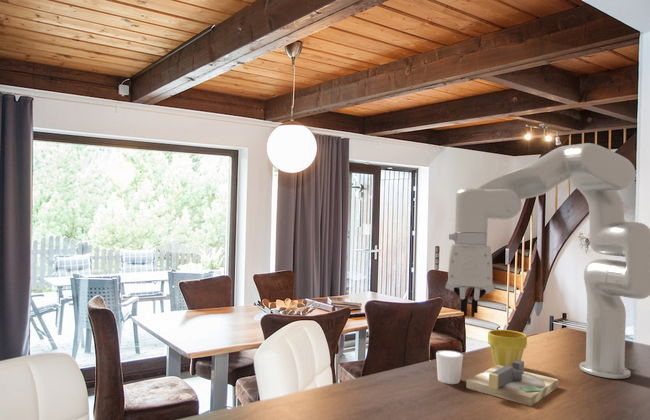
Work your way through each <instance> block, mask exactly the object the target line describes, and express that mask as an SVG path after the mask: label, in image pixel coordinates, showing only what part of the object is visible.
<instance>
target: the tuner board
mask: <svg viewBox="0 0 650 420" xmlns="http://www.w3.org/2000/svg"><path fill="white" fill-rule="evenodd" d="M502 367H504V366H500V365H496V366H492V367H490V368H488V369H486V370H484V371H482V372H480V373H477V374H475V375H474V376H471V377H470V378H467V379H466V389H469V390H472V391H476V392H478V393H482V394H486V395H489V396H492V397H496V398H501V399H503V400H508V401H512V402H515V403H518V404H521V405H525V406H529V407H532V406H534V405H535V404H536V403H538V402H539V401H541V400H542V399H543V398H545V397H546V396H548V395H549V394H550V393H551V392H553V391H554V390H556V389H558V388H559V379H558V378H555V377H554V378H553V377H549V376H546V375H542V374H537V373H533V372H529V371H525V370H524V374H523V375H522V380H520V381H513V380H512V381H510V382H509V383H507V384H505V385H503V386H501V387H500V388H498V389H492V388H489V374H490V373H492V372H494V371H496V370H498V369H500V368H502Z"/></svg>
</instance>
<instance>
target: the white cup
mask: <svg viewBox="0 0 650 420" xmlns="http://www.w3.org/2000/svg"><path fill="white" fill-rule="evenodd" d="M435 358H436V371H437V372H436V373H437V380H438V381H439V382H441V383H443V384H448V385H455V384H459V383H460V382H461V375H462V366H463V360H464V359H463V358H464V354H463V353H461V352H459V351H456V350H446V349H445V350H444V349H443V350H437V351H436V353H435Z"/></svg>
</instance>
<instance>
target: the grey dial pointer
mask: <svg viewBox="0 0 650 420" xmlns="http://www.w3.org/2000/svg"><path fill="white" fill-rule="evenodd" d="M524 369H525V361H524V360H521V361H520V360H516V361H514V362H512V367H511V366H507V365H506V366H504V367H502V368H500V369H498V370H496V371H494V372H492V373H490V374H489V388H492V389H498V388H500V387H501V386H503V385H505V384H507V383H509V382H510V381H512V380H513V381H520V380H522V375H523V374H524V371H525V370H524Z"/></svg>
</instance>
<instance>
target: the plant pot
mask: <svg viewBox="0 0 650 420" xmlns="http://www.w3.org/2000/svg"><path fill="white" fill-rule="evenodd" d="M487 342H488V345H489V346H490V350H491V356H492V362H493V365H494V366H496V365H500V366H506V365H507V366H511V367H512V362H514V361H516V360H520V361H522V358H523V354H524V351H525V349H526V348H527V346H528V345H527V344H528V336H527V334H526V333H523V332H519V331H515V330H510V329H509V330H508V329H491V330H488V332H487ZM494 366H493V367H494Z"/></svg>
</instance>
